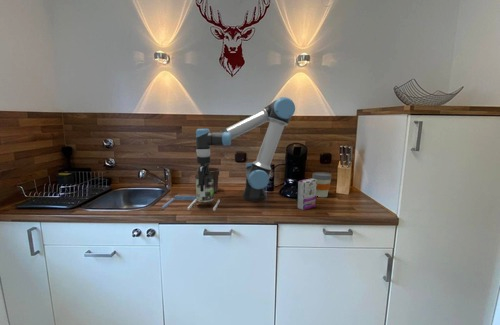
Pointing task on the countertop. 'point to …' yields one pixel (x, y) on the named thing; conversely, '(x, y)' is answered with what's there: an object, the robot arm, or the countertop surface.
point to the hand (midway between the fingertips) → (205, 193)
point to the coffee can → (208, 189)
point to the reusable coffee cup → (322, 183)
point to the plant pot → (215, 177)
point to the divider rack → (178, 197)
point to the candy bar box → (307, 193)
